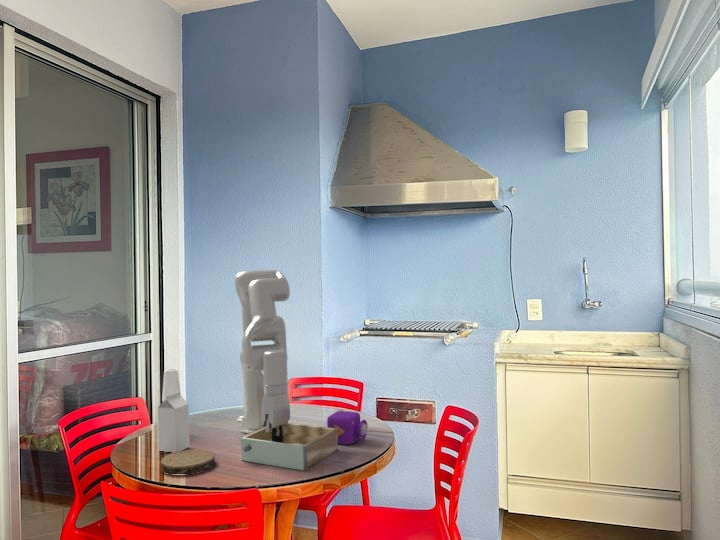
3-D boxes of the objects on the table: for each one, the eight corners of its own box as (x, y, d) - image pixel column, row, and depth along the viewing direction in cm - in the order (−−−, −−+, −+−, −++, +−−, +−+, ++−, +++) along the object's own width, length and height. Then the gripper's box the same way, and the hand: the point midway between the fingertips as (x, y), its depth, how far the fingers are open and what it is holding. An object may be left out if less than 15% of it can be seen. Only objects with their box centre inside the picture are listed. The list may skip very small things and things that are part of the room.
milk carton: (189, 447, 189) (188, 392, 189) (176, 454, 183) (174, 396, 183) (172, 445, 192) (170, 391, 192) (158, 452, 185) (157, 395, 185)
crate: (243, 459, 176) (242, 437, 176) (277, 441, 193) (277, 421, 193) (307, 469, 165) (306, 446, 165) (338, 450, 182) (337, 428, 182)
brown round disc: (163, 480, 161) (162, 470, 161) (159, 463, 175) (159, 454, 175) (219, 470, 167) (218, 460, 167) (210, 455, 182) (210, 446, 182)
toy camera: (365, 447, 184) (364, 417, 184) (325, 445, 187) (324, 416, 187) (371, 437, 195) (370, 409, 195) (333, 436, 198) (332, 408, 198)
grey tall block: (167, 438, 200) (165, 372, 200) (160, 434, 205) (158, 370, 205) (185, 434, 205) (183, 369, 205) (177, 430, 210) (175, 367, 210)
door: (238, 461, 173) (238, 439, 173) (244, 459, 175) (243, 437, 175) (303, 472, 162) (302, 448, 162) (308, 469, 164) (307, 446, 164)
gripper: (279, 383, 184) (281, 438, 184) (251, 393, 171) (253, 452, 171) (298, 385, 181) (300, 441, 181) (271, 395, 167) (273, 455, 167)
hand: (277, 446), depth 176 cm, fingers closed
